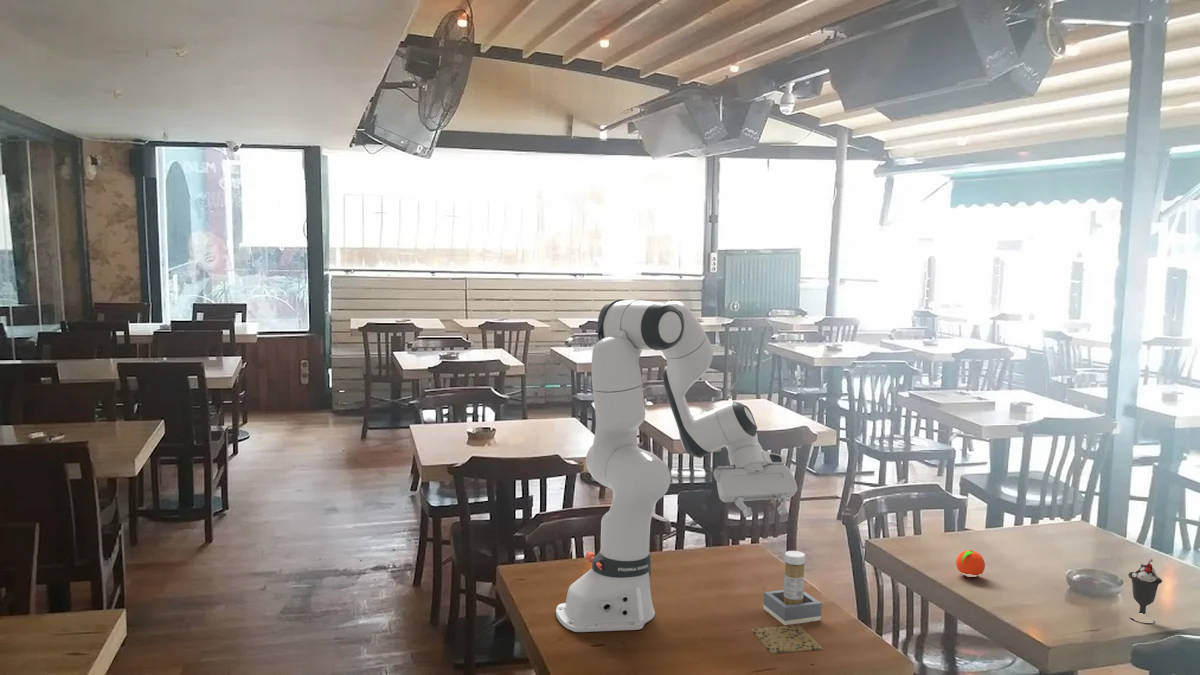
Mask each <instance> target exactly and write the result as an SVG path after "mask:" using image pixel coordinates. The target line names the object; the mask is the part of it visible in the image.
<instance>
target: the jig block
mask: <svg viewBox="0 0 1200 675" xmlns="http://www.w3.org/2000/svg"><path fill="white" fill-rule="evenodd" d="M822 607H823V603H822V602H821V601H819V600H818V599H817V598H815V597H814V596H812V595H810V594H809V593H807V592H806V591H803V603H801V604H793V605H786V604H785V603H784V589H779V590H771V591H770V590H769V591H763V608H762V609H763V610H764V611H766V612H767V613H768V614H770V615H771V616H772V617H774V618H775V619H776V620H777V621H779V622H780V623H781V624H782V625H784V626H791V625H797V624H803V623H804V624H805V623H811V621H812V622H817V621H818V620H819V621H821V620H822ZM819 621H818V622H819Z"/></svg>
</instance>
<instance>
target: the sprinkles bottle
mask: <svg viewBox="0 0 1200 675" xmlns="http://www.w3.org/2000/svg"><path fill="white" fill-rule="evenodd" d="M805 563H806V554H805V553H804V552H802V551H799V550H798V551H797V550H787V551H786V552H784V579H783V590H784V603H785V604H786V605H793V604H801V603H803V591H804V590H805V589H804V588H805V587H804V584H805V572H804V571H805Z"/></svg>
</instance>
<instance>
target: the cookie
mask: <svg viewBox="0 0 1200 675" xmlns="http://www.w3.org/2000/svg"><path fill="white" fill-rule="evenodd" d="M750 631H751V632H752V633H753V635H755V637H756V638H757V639H758V640H759V642H761V644H763V645H764V647H765V648H766V650H768V651H769V652H768V653H770V654H772V655H773V654H785V653H786V654H787V653H788V654H789V653H799V651H801V652H812V651H811V650H815V651H821V650H820V649H824V648H823V647H822V645H820V643H818V641H816V640H815V639H814V638H813V637H812V636H811V635H810V634H809V633H808V632H807V631H806V630H805V629H804V627H802V625H797V624H793V625H784V626H771V627H770V626H767V627H766V626H760V627H756V628H755V627H753V628H751V630H750Z"/></svg>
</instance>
